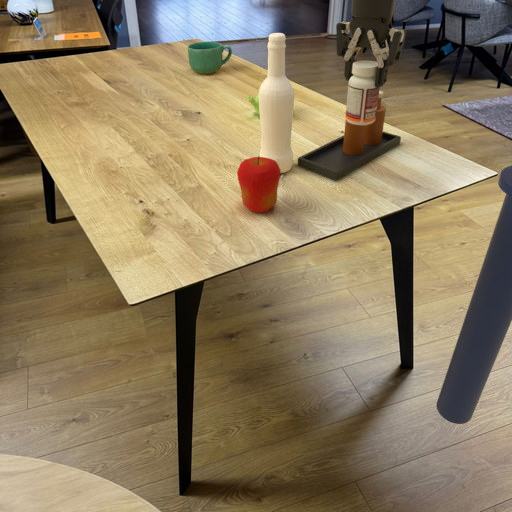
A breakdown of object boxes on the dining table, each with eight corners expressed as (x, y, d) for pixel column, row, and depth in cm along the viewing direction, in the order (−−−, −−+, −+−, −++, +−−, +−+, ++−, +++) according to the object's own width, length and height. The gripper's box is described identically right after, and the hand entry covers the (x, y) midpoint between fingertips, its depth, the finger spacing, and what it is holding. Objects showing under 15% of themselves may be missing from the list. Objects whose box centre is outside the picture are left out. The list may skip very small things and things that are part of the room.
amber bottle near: (367, 150, 121) (374, 99, 113) (355, 157, 118) (361, 105, 110) (350, 145, 124) (355, 95, 116) (338, 151, 121) (343, 100, 113)
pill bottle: (374, 115, 101) (382, 59, 94) (375, 126, 96) (383, 68, 89) (345, 114, 102) (350, 59, 95) (344, 125, 97) (350, 67, 90)
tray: (362, 132, 132) (363, 125, 130) (399, 144, 125) (401, 136, 124) (297, 165, 116) (297, 157, 115) (335, 180, 109) (336, 172, 108)
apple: (282, 198, 103) (282, 147, 96) (277, 218, 97) (277, 165, 90) (243, 195, 105) (241, 145, 98) (235, 215, 98) (232, 163, 91)
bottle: (256, 162, 118) (253, 30, 100) (287, 158, 119) (290, 28, 101) (263, 176, 112) (261, 39, 94) (296, 173, 113) (301, 36, 95)
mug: (191, 77, 176) (189, 50, 171) (188, 68, 186) (185, 42, 181) (235, 74, 179) (234, 47, 173) (230, 65, 189) (228, 39, 183)
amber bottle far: (384, 141, 125) (392, 91, 117) (373, 147, 122) (380, 97, 115) (368, 136, 128) (374, 87, 120) (356, 141, 125) (362, 92, 118)
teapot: (255, 107, 150) (254, 79, 145) (291, 108, 148) (292, 81, 143) (247, 120, 141) (246, 91, 136) (286, 122, 139) (286, 93, 134)
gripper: (422, -13, 82) (406, 85, 92) (353, -19, 90) (345, 72, 100) (400, -8, 78) (385, 95, 88) (329, -15, 86) (323, 80, 96)
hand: (364, 82), depth 94 cm, fingers closed on pill bottle, 6 cm apart
